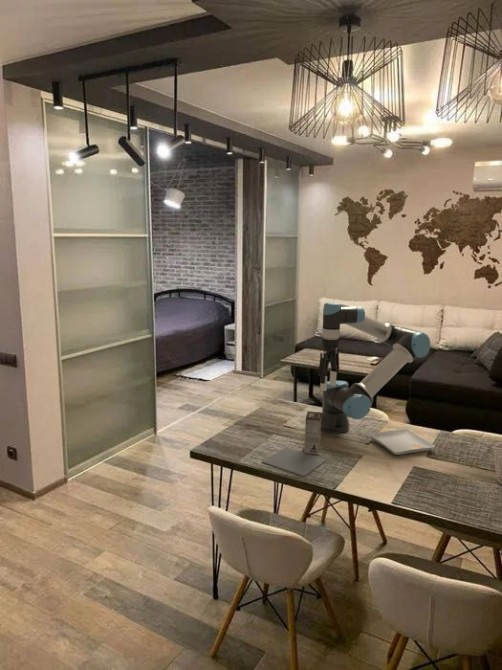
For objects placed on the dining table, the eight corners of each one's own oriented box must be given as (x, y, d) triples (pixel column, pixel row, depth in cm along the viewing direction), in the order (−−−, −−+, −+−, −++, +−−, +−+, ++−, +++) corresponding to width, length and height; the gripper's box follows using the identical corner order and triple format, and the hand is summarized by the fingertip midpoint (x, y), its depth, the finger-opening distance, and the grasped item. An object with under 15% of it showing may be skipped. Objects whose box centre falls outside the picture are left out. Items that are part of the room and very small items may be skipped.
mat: (285, 448, 220) (285, 447, 220) (326, 460, 208) (326, 459, 208) (262, 462, 205) (262, 461, 205) (304, 476, 194) (304, 475, 194)
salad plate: (394, 459, 212) (395, 451, 211) (367, 440, 232) (367, 433, 231) (436, 453, 219) (436, 445, 218) (406, 435, 238) (406, 428, 238)
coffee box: (306, 445, 224) (307, 410, 221) (320, 446, 223) (322, 412, 219) (303, 453, 215) (305, 417, 212) (319, 455, 214) (320, 419, 211)
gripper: (333, 333, 230) (331, 381, 234) (311, 340, 213) (308, 391, 217) (349, 335, 225) (346, 384, 230) (327, 342, 209) (324, 395, 213)
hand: (328, 387), depth 223 cm, fingers open, 8 cm apart
